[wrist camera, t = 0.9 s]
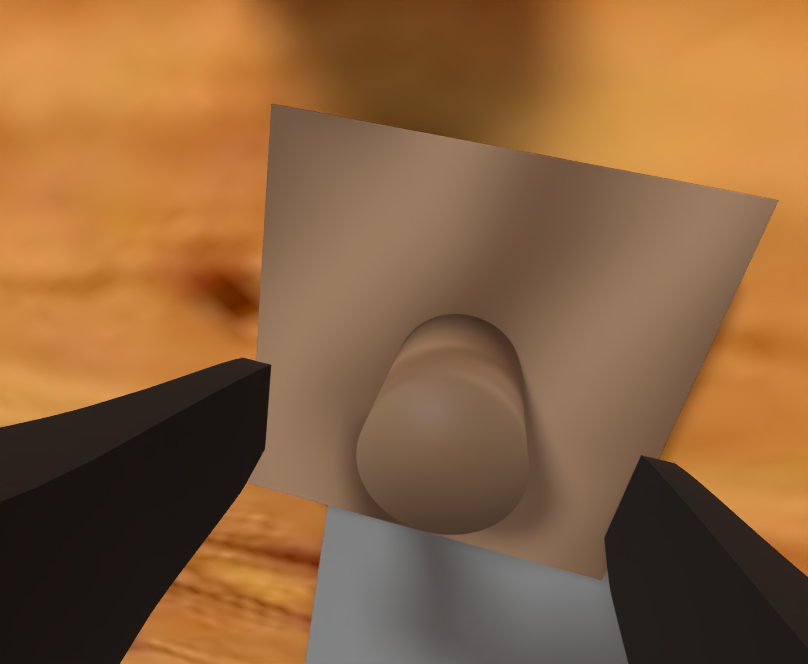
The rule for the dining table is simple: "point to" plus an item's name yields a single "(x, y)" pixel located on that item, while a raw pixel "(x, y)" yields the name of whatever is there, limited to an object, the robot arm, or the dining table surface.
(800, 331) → the dining table surface
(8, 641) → the robot arm
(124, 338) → the dining table surface
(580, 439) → the lid
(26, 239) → the dining table surface
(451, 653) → the mat
